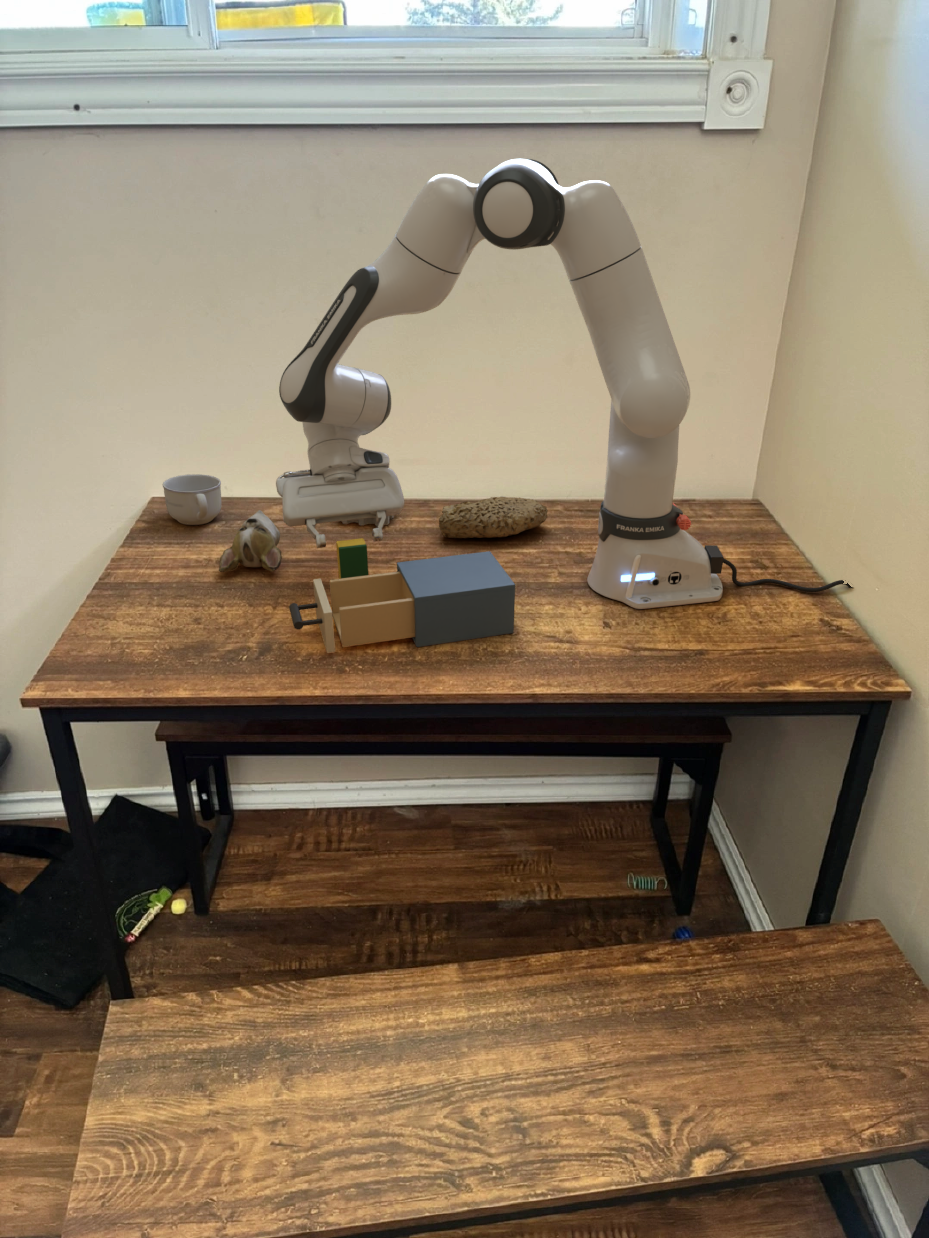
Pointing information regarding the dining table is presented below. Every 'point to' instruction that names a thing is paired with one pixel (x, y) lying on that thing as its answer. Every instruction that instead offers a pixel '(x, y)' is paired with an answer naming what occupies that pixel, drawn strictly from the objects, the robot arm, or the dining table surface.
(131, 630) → the dining table surface
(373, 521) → the egg carton
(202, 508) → the teacup
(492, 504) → the sponge
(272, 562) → the ceramic sculpture
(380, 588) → the drawer
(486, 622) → the cabinet
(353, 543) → the scrub sponge
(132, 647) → the dining table surface
